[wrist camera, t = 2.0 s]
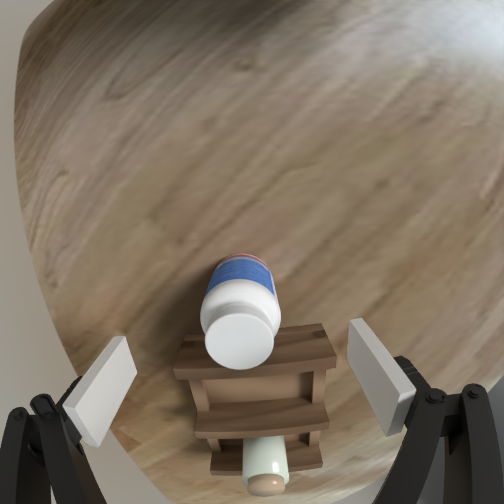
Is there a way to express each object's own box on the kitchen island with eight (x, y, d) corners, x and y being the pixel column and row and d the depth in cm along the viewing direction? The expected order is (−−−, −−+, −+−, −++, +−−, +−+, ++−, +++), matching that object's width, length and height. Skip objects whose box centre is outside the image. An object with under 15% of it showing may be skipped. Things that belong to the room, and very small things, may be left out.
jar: (241, 416, 28) (239, 482, 19) (282, 413, 28) (290, 478, 19) (245, 438, 29) (244, 499, 20) (282, 435, 29) (289, 496, 20)
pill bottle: (201, 266, 24) (174, 318, 15) (258, 242, 24) (264, 284, 15) (227, 317, 26) (217, 387, 16) (281, 297, 25) (298, 361, 16)
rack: (185, 334, 26) (172, 368, 21) (321, 323, 26) (336, 356, 21) (215, 443, 31) (211, 475, 25) (314, 435, 31) (321, 467, 25)
